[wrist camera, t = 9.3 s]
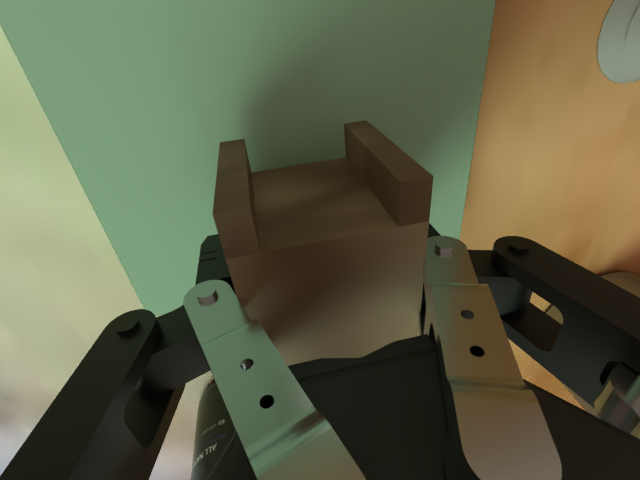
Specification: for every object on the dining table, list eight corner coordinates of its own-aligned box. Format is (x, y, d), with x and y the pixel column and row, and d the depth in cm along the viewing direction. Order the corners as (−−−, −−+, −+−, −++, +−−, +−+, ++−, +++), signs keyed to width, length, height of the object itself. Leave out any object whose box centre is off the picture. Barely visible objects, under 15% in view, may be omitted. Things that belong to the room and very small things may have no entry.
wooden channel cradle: (366, 120, 12) (433, 176, 8) (368, 262, 16) (416, 352, 12) (219, 142, 12) (212, 214, 8) (255, 285, 15) (264, 388, 11)
